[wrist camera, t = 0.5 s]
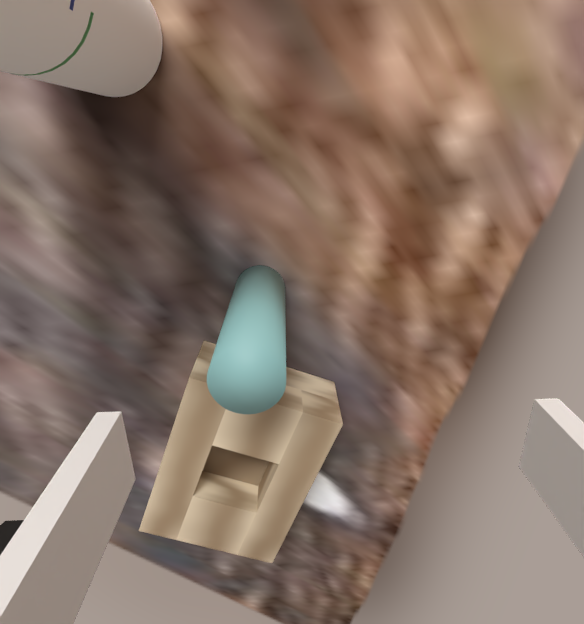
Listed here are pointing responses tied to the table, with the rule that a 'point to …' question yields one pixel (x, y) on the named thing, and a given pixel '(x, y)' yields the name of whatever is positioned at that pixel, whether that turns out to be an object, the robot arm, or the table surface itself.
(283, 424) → the block
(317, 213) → the table surface
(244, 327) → the pin
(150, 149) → the table surface
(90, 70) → the cylindrical container
